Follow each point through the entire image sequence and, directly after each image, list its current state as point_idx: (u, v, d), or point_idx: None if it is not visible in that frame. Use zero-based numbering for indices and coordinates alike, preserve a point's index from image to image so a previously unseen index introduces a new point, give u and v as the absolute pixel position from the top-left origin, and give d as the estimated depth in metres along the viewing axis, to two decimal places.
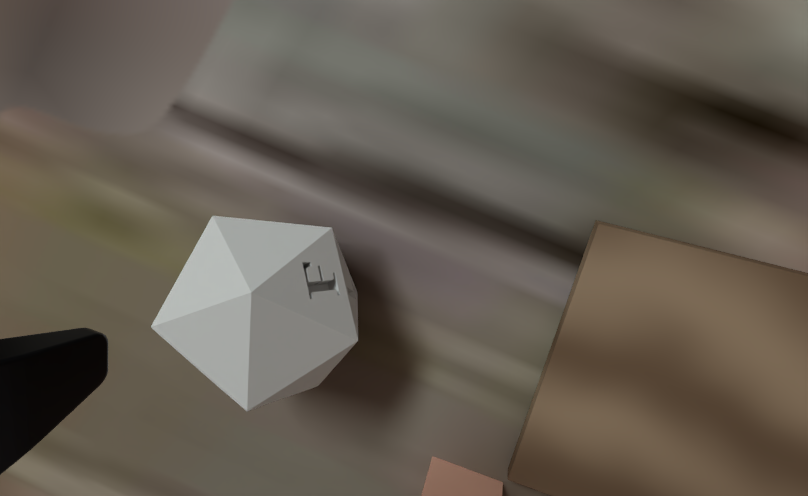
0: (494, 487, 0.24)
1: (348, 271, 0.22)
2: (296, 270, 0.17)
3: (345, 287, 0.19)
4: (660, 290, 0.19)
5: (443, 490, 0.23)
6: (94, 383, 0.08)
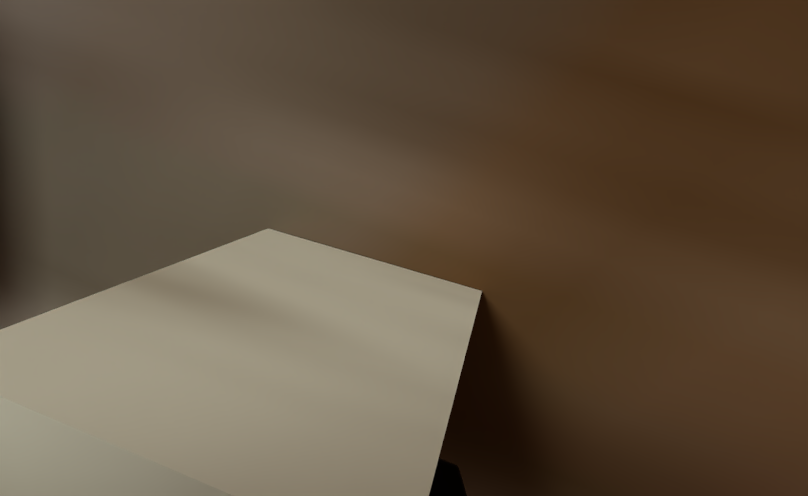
0: None
1: None
2: None
3: None
4: None
5: None
6: None
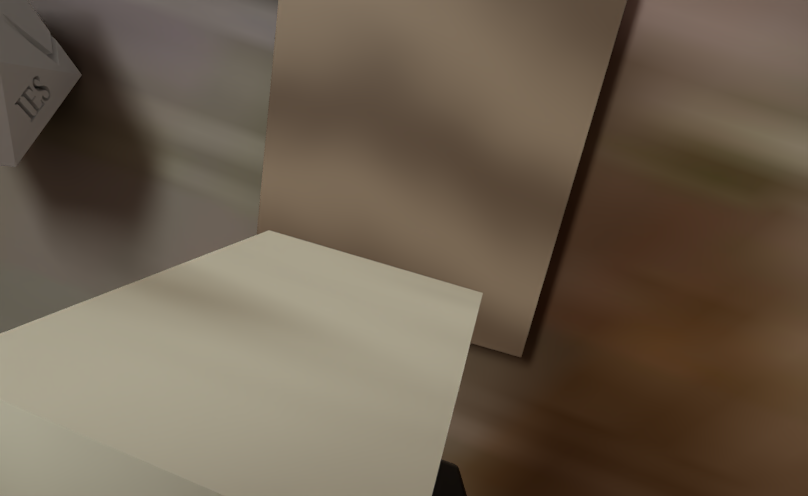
0: None
1: (46, 30, 0.19)
2: None
3: None
4: None
5: None
6: None
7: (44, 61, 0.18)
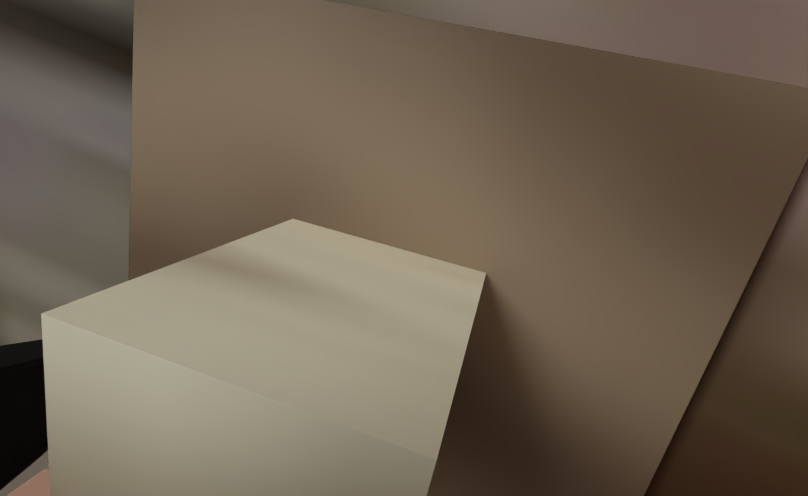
0: None
1: None
2: None
3: None
4: (272, 113, 0.09)
5: None
6: None
7: None
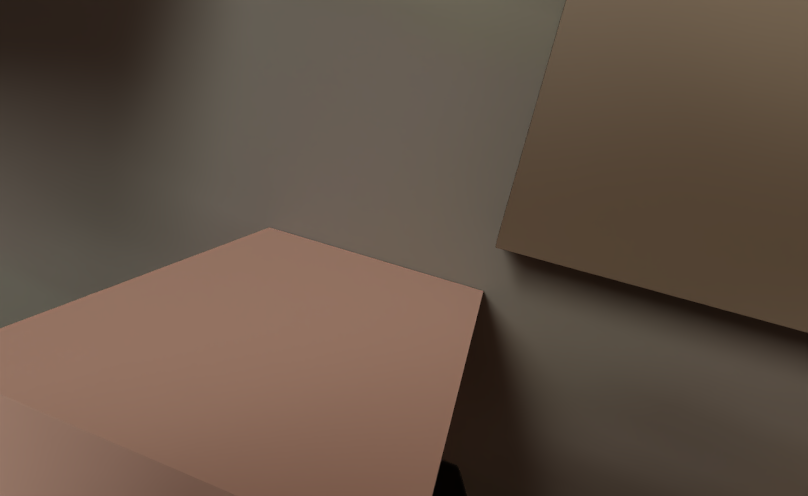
0: (452, 297, 0.07)
1: None
2: None
3: None
4: None
5: (250, 280, 0.06)
6: None
7: None
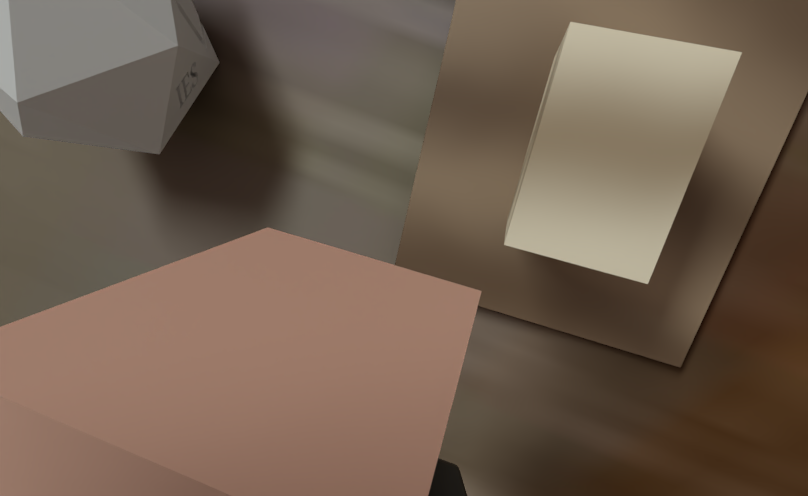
0: (450, 297, 0.07)
1: (197, 15, 0.18)
2: None
3: None
4: None
5: (249, 280, 0.06)
6: None
7: (200, 47, 0.17)
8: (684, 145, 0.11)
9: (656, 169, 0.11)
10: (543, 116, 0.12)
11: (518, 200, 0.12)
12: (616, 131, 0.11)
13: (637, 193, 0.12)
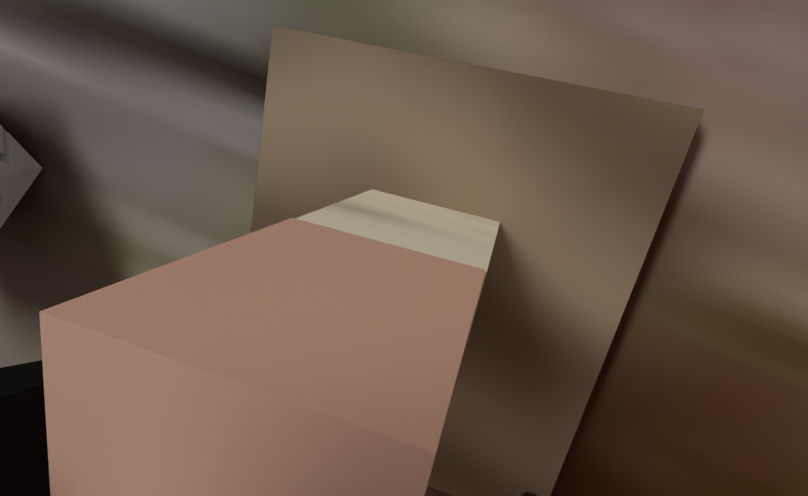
0: (458, 274, 0.08)
1: None
2: None
3: None
4: (361, 120, 0.13)
5: (284, 259, 0.07)
6: None
7: None
8: None
9: None
10: None
11: None
12: None
13: None
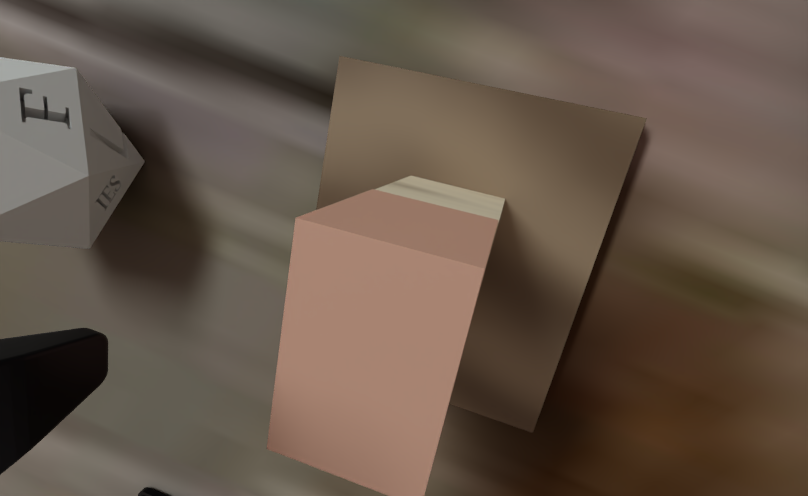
0: (482, 220, 0.13)
1: (118, 129, 0.21)
2: (7, 92, 0.17)
3: (82, 125, 0.18)
4: (404, 125, 0.18)
5: (382, 207, 0.12)
6: (94, 383, 0.08)
7: (118, 160, 0.20)
8: None
9: None
10: None
11: None
12: None
13: None
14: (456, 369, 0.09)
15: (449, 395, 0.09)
